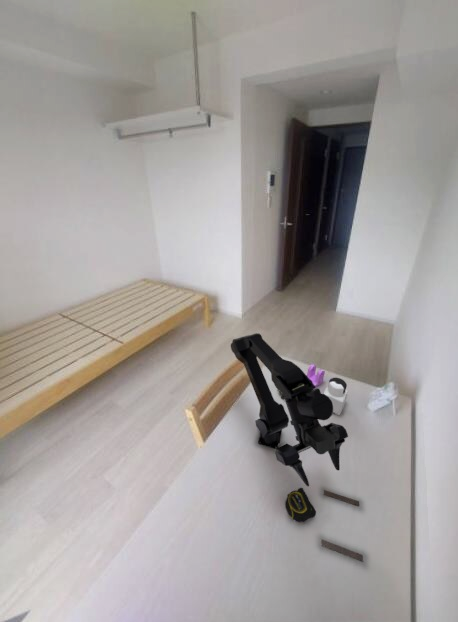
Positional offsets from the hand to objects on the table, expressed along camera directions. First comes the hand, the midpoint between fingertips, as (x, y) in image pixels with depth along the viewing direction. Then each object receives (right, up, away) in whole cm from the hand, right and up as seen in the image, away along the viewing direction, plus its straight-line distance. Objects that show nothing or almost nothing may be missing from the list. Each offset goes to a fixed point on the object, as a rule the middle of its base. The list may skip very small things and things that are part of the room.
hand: (323, 477), depth 67 cm
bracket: (+10, +10, +46) cm, 48 cm away
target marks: (+5, -13, +2) cm, 14 cm away
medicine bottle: (+16, +5, +36) cm, 40 cm away
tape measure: (-5, -12, +5) cm, 14 cm away
